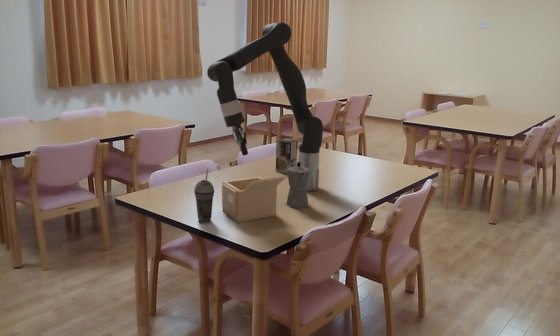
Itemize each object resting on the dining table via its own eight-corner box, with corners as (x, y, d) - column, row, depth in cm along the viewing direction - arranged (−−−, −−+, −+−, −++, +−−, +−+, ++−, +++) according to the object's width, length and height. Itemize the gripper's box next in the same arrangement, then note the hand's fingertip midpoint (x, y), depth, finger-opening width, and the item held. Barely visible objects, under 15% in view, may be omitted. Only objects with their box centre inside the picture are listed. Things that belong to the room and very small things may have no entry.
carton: (219, 210, 197) (219, 181, 194) (259, 204, 206) (260, 176, 203) (236, 223, 185) (236, 192, 182) (278, 215, 194) (278, 185, 191)
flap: (243, 190, 182) (253, 180, 175) (274, 185, 189) (285, 176, 182) (244, 191, 182) (253, 182, 175) (275, 187, 189) (285, 178, 181)
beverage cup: (195, 217, 190) (194, 166, 184) (214, 217, 190) (214, 166, 185) (193, 224, 182) (193, 171, 177) (214, 224, 183) (213, 171, 178)
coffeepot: (312, 209, 202) (314, 165, 198) (290, 210, 200) (291, 166, 196) (302, 197, 217) (304, 156, 212) (281, 198, 215) (282, 157, 210)
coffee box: (296, 171, 257) (298, 140, 253) (290, 174, 252) (291, 142, 247) (281, 168, 262) (282, 138, 257) (275, 171, 256) (275, 140, 252)
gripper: (245, 110, 191) (258, 153, 195) (237, 109, 203) (249, 150, 207) (227, 116, 189) (240, 160, 193) (219, 115, 202) (232, 156, 206)
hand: (245, 154), depth 200 cm, fingers closed
